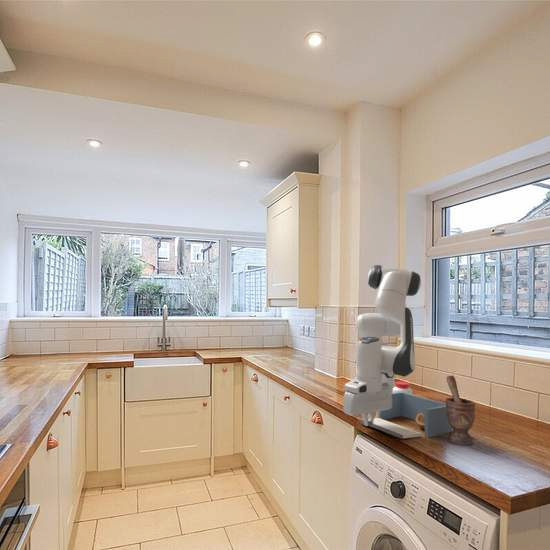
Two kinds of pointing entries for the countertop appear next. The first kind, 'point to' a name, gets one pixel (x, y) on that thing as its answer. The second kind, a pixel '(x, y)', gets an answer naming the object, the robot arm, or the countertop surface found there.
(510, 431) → the countertop surface
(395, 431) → the white rectangular panel
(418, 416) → the fruit slice
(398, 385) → the pill bottle
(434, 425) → the crate
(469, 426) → the mortar and pestle
